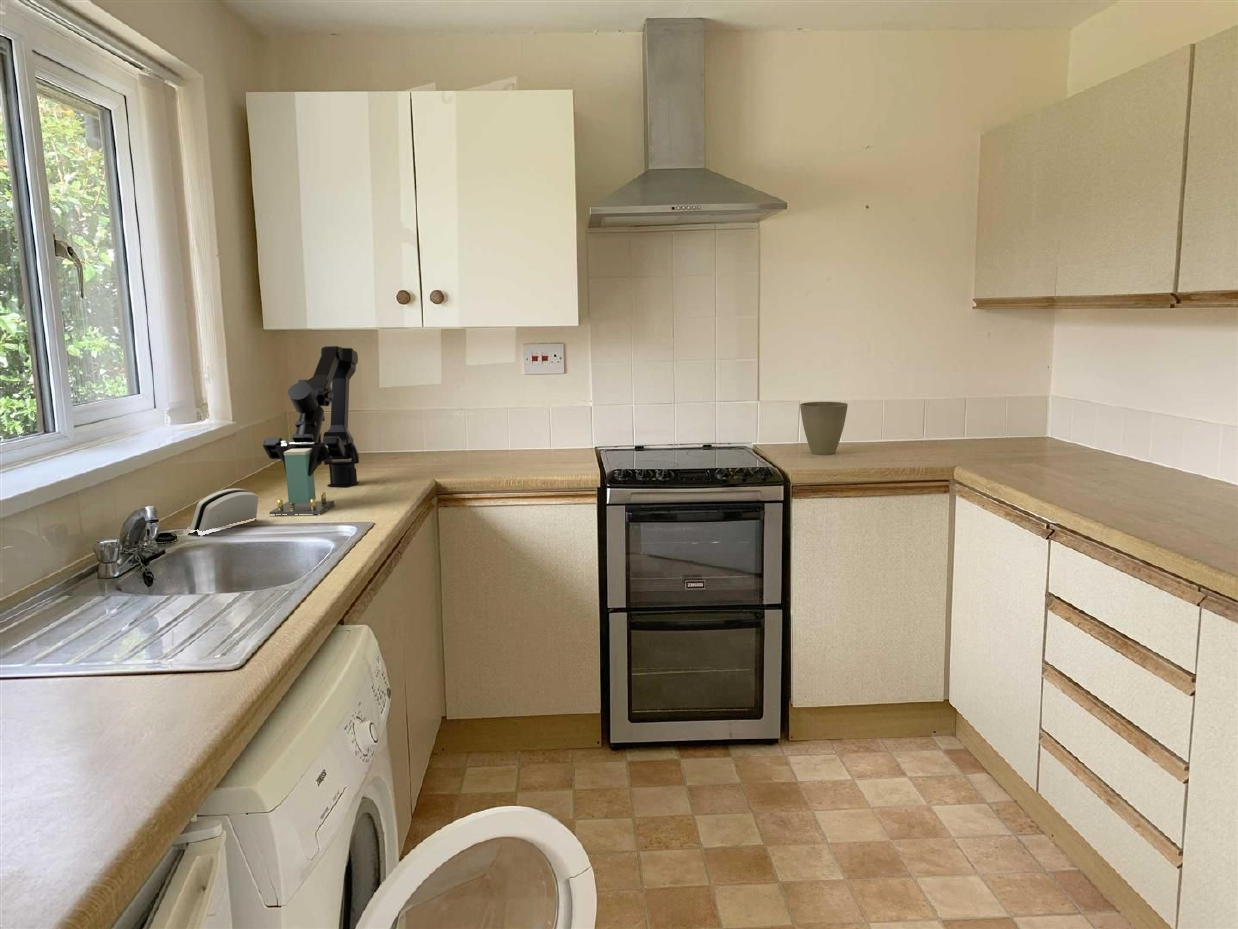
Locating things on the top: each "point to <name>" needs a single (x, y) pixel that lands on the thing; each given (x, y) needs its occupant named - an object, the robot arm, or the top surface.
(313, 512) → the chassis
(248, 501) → the grey napkin holder
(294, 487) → the tea tin
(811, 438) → the plant pot
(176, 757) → the top surface
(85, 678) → the top surface
